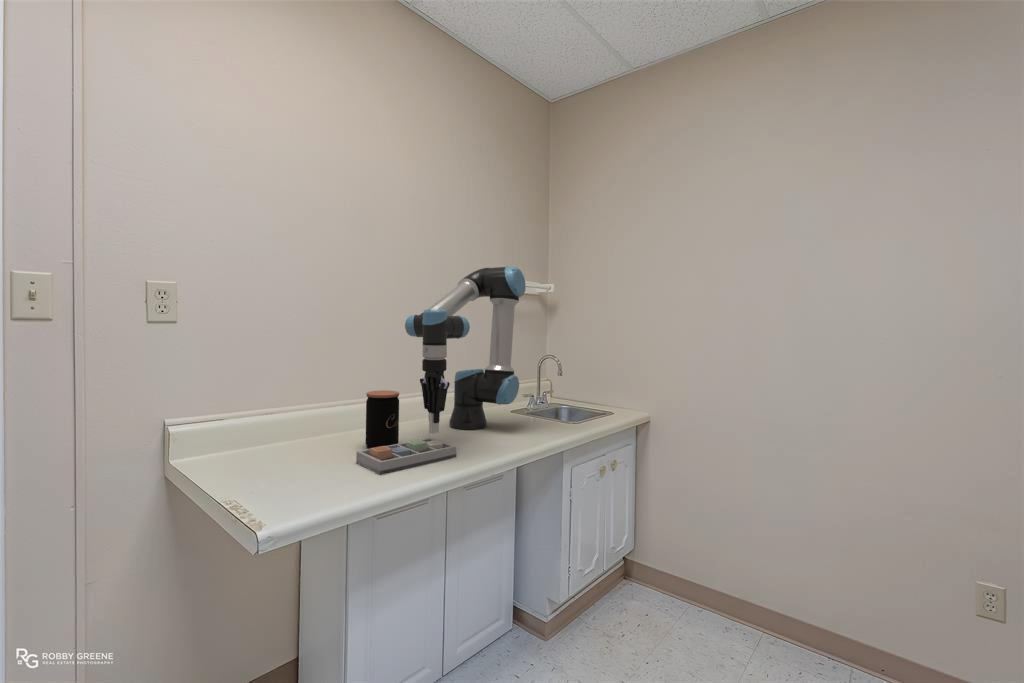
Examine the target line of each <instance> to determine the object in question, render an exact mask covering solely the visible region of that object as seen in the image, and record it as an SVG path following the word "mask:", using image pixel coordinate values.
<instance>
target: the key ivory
mask: <svg viewBox="0 0 1024 683" xmlns="http://www.w3.org/2000/svg"><path fill="white" fill-rule="evenodd" d="M427 446H429V447H432V448H434V449H441V448H443V443H441V442H438V441H435V440H434V441H428V442H427Z"/></svg>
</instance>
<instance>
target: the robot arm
mask: <svg viewBox="0 0 1024 683" xmlns="http://www.w3.org/2000/svg"><path fill="white" fill-rule="evenodd" d="M525 293H526V280H525V277H524V274H523V272H522V270H521V269H520V268H518V267H516V266H503V267H502V266H499V267H497V266H496V267H483V268H482V267H481V268H479V269H477V270H475V271H473V272H471V273H468V274H467V275H466V276H465V277H463V278H462V279H460V280H459V281H458V283H457V286H455V287H454V288H452V289H451V290H450V291H449V292H447V293H446V294H445V295H443V297H441V298H440V299H439V300H437V301H436V302H435V303H434V304H432V305H431V306H430V307H428V308H427V309H424V310H423V312H421V313H420V314H413V315H412V314H411V315H409V316H407V318H406V319H405V324H404V329H405V332H406V334H407V335H409V336H410V337H415V338H422V358H423V359H422V360H421V362H422V366H421V367H422V368H421V369H422V371H423V372H425V373H424V377H422V378H420V379H419V382H420V386H421V393H422V399H423V408H424V410H427V412H428V434H431V435H432V434H437V433H440V414H441V412H444V411H445V408H446V401H447V395H448V390H449V387H450V382H449V381H446V380H445V374H444V372H446V371H447V365H448V364H447V359H446V358H447V357H448V352H447V351H448V350H447V348H448V345H447V344H448V343H447V342H448V341H447V340H448V339H449V340H450V339H451V340H452V339H462V338H465V337H466V336H467V335H468V334H469V332H470V322H469V320H468V319H467V318H466V317H464V316H462V315H461V316H460V315H455V314H456V313H457V312H459V311H460V310H461V309H462V308H463V307H464V306H466V305H467V304H469V302H474V301H476V300H477V299H478V298H484V297H486V298H487V297H489V301H490V303H491V304H492V315H491V316H492V318H491V331H490V346H489V347H490V348H489V360H488V361H489V363H488V365H487V366H486V367H485V368H475V369H474V368H473V369H463V370H458V371H456V372H455V375H454V382H453V383H454V387H453V389H454V390H453V391H454V397H453V401H454V403H453V409H452V412H451V416H450V418H449V422H448V423H449V424H448V425H449V427H450V428H452V429H456V430H466V431H468V430H480V429H484V428H486V427H487V425H488V424H487V419H486V414H485V410H484V406H483V405H484V404H483V403H488V404H496V405H499V406H500V405H510V404H512V403H513V402H514V401H515V400H516V399H517V396H518V393H519V389H520V381H519V377H518V376H516V375H515V369H514V368H513V367H512V352H513V351H512V350H513V339H514V337H513V336H514V323H515V322H514V321H515V306H516V305H517V304H518V303H520V298H522V297H523V296H524V295H525Z"/></svg>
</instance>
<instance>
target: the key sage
mask: <svg viewBox="0 0 1024 683" xmlns="http://www.w3.org/2000/svg"><path fill="white" fill-rule="evenodd" d="M405 442H406V448H409V449H411V450H414V451H416V452H420V451H425V450H427V442H425V441H422V440H421V439H414V440H407V441H405Z"/></svg>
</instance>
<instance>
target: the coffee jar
mask: <svg viewBox="0 0 1024 683" xmlns="http://www.w3.org/2000/svg"><path fill="white" fill-rule="evenodd" d="M399 396H400V391H397V390H386V389H385V390H383V389H382V390H372V391H371V390H370V391H367V392H366V397H367V399H366V402H365V403H366V404H365V445H366V447H367V449H370V448H375V447H380V446H389V445H394V444H399V431H400V426H399V425H400V423H399V422H400V400H399Z"/></svg>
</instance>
